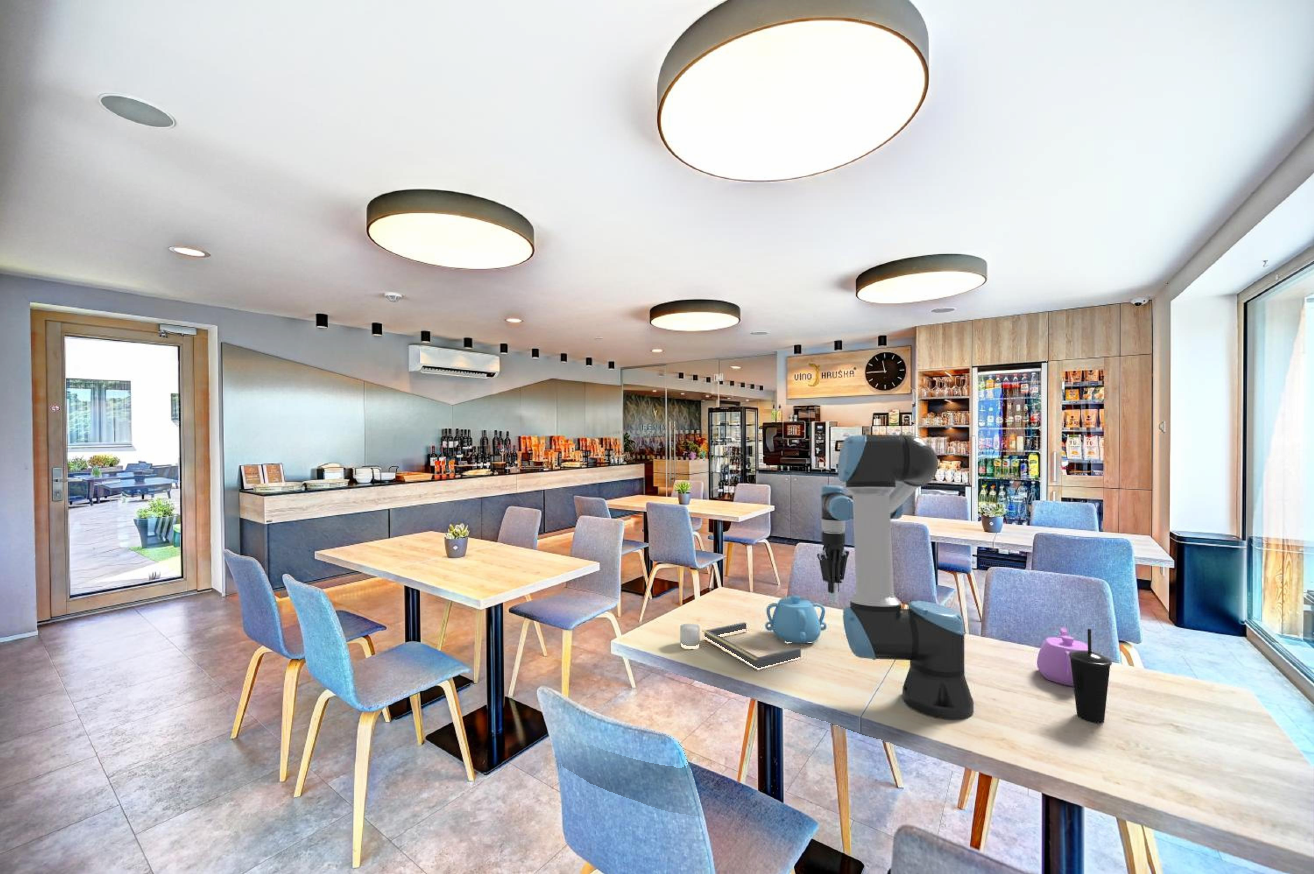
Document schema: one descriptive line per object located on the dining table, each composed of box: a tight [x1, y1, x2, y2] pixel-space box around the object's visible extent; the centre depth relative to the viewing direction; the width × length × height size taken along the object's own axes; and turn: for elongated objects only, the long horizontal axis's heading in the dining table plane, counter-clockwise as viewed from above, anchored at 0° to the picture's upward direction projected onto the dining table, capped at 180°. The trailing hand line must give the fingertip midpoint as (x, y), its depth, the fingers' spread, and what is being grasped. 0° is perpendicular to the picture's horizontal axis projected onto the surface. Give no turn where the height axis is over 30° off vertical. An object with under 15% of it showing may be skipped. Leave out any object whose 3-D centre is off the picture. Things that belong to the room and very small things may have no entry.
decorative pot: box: [764, 594, 827, 644], centre depth 172 cm, size 16×16×14 cm
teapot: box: [1036, 626, 1088, 687], centre depth 142 cm, size 13×20×11 cm
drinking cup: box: [1069, 628, 1113, 724], centre depth 122 cm, size 8×8×20 cm
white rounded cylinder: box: [679, 623, 701, 646], centre depth 167 cm, size 7×6×6 cm
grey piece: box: [701, 622, 802, 668], centre depth 163 cm, size 26×17×3 cm, turn 29°
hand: (833, 601), depth 181 cm, fingers closed
